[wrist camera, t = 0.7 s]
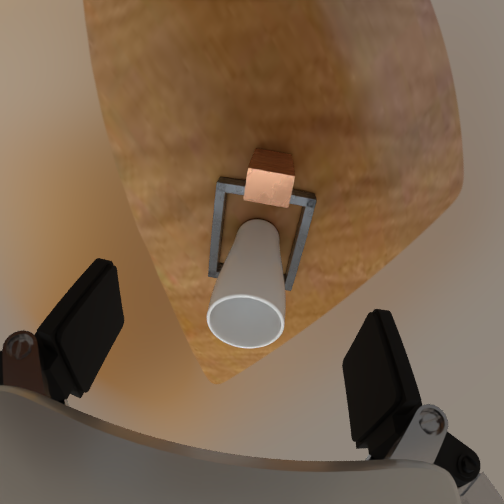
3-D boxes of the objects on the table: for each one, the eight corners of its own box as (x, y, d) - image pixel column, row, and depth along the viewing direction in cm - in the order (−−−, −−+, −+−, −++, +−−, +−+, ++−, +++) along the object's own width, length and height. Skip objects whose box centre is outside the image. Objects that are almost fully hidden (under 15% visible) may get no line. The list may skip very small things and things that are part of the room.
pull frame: (224, 143, 31) (207, 162, 24) (322, 161, 31) (334, 184, 24) (211, 267, 40) (197, 307, 33) (290, 281, 40) (291, 323, 33)
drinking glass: (296, 240, 37) (301, 330, 24) (255, 267, 39) (241, 358, 27) (261, 201, 34) (248, 280, 22) (220, 232, 37) (189, 317, 24)
